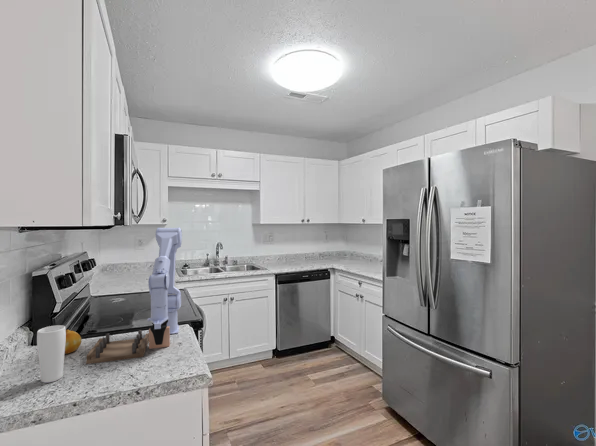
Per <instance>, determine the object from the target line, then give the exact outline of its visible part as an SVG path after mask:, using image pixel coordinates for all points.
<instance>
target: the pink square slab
mask: <svg viewBox="0 0 596 446" xmlns="http://www.w3.org/2000/svg"><path fill="white" fill-rule="evenodd" d="M148 333H149V342H148V348H149V350H151V349H160V348H167V347H169V348H170V346H171V334H170V326H167V327H166V329H165V332H164V337H163V342H162V344H161V345H156V344H155V340H154V336H153V333H152V331H151V330H150V327H149V329H148Z"/></svg>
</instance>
